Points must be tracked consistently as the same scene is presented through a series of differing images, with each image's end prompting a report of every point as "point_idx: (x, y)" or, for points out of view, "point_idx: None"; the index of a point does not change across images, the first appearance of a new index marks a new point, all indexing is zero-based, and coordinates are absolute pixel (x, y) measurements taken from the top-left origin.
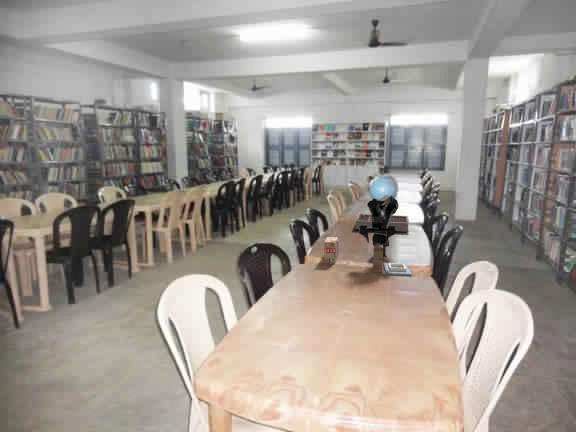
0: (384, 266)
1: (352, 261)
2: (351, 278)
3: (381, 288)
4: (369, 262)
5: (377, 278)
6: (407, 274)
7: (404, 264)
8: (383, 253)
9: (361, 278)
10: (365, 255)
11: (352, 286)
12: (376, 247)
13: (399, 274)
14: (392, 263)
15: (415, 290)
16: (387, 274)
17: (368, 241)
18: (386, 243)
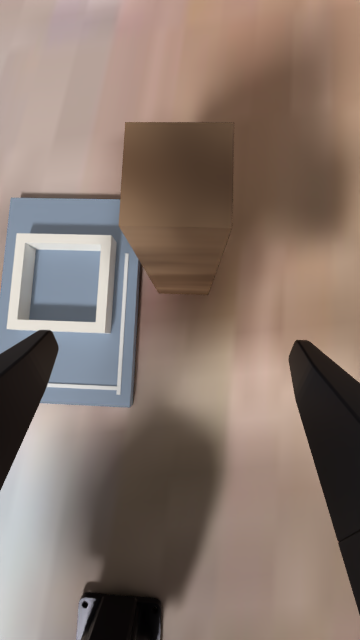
0: (134, 331)
1: None
2: (333, 128)
3: (196, 17)
4: (215, 443)
5: None
6: (34, 200)
7: None
8: (95, 617)
9: (281, 134)
10: (230, 635)
11: (328, 22)
12: (208, 124)
13: (76, 202)
14: (79, 331)
15: (53, 15)
16: None
17: (307, 347)
18: (48, 334)
